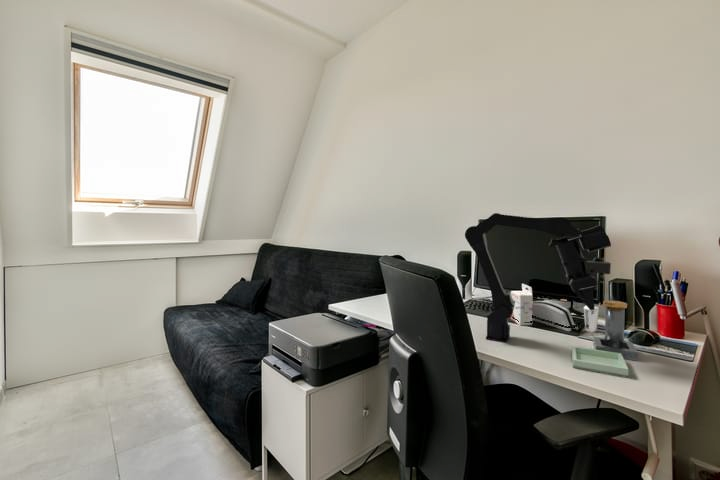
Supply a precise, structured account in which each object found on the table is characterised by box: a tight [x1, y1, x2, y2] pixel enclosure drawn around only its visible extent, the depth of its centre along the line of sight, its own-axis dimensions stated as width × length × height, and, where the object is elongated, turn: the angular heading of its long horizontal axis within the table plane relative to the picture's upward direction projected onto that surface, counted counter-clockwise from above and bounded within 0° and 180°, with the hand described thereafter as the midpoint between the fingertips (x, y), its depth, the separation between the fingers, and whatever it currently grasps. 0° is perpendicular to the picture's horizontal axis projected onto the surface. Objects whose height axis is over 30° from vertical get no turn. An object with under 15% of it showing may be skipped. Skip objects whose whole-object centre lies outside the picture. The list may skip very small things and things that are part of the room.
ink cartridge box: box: [510, 283, 533, 326], centre depth 130 cm, size 9×5×15 cm, turn 179°
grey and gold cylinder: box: [602, 300, 628, 349], centre depth 99 cm, size 6×6×15 cm
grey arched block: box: [532, 300, 579, 332], centre depth 127 cm, size 17×5×10 cm, turn 21°
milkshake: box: [583, 302, 601, 333], centre depth 119 cm, size 4×5×10 cm
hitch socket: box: [592, 336, 639, 362], centre depth 99 cm, size 10×10×2 cm
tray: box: [571, 345, 629, 379], centre depth 91 cm, size 12×12×2 cm
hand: (590, 306), depth 100 cm, fingers open, 9 cm apart
